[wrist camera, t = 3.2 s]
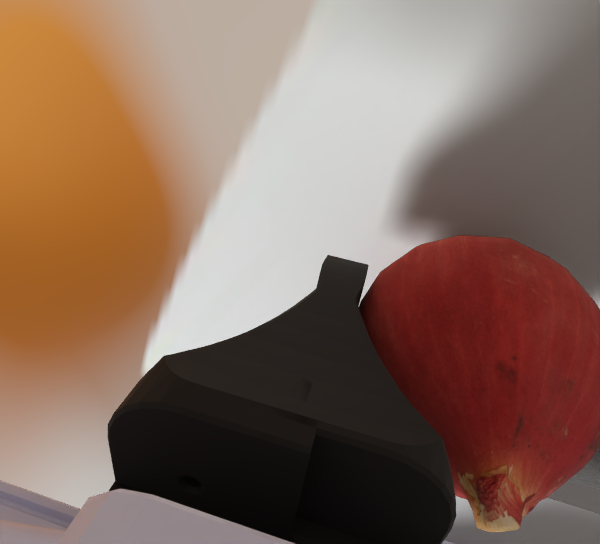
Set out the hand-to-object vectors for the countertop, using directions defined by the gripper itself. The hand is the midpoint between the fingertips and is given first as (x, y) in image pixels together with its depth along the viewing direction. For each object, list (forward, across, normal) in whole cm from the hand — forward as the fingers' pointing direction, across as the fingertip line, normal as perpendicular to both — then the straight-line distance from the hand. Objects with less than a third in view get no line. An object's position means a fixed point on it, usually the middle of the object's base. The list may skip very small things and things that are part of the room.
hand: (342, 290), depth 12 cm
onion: (+3, -3, 0) cm, 4 cm away
